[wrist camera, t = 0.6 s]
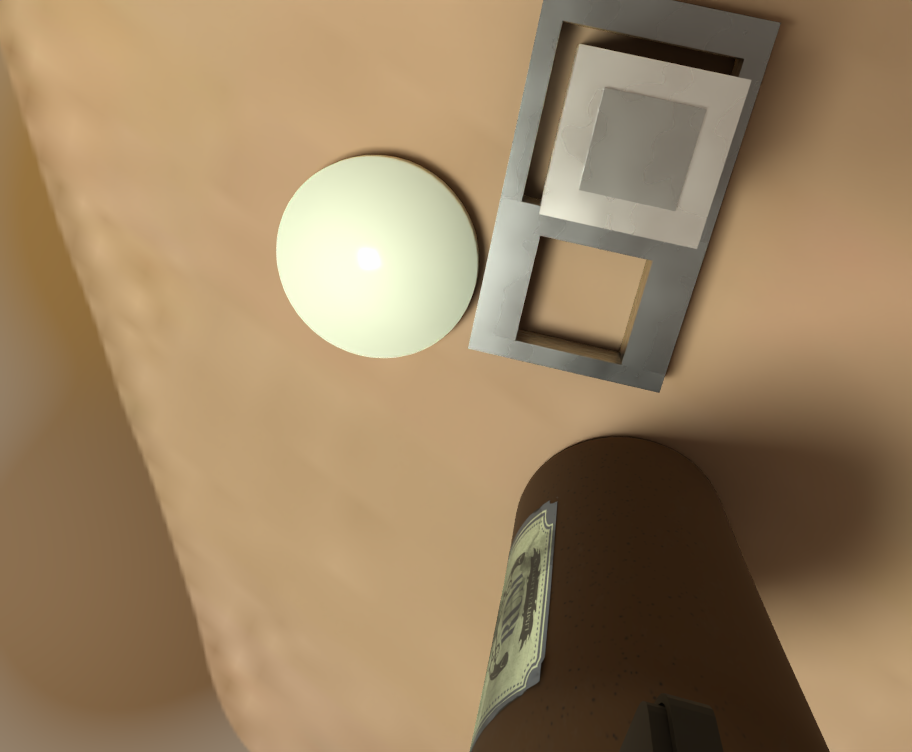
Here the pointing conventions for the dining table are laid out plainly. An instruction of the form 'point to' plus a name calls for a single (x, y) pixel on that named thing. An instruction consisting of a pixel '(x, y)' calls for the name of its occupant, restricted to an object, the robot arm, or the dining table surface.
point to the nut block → (641, 145)
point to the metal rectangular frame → (668, 265)
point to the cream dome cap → (377, 256)
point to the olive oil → (631, 612)
